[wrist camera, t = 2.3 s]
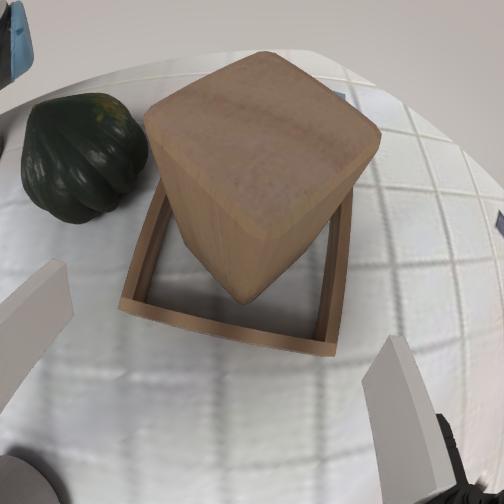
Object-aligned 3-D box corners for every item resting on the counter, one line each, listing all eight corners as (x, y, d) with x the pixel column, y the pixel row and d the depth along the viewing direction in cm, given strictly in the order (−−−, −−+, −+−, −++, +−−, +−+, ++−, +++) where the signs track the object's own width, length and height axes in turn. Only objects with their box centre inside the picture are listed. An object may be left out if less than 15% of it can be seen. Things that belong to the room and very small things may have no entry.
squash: (178, 181, 29) (109, 50, 20) (58, 267, 26) (-22, 146, 17) (152, 164, 40) (104, 75, 32) (67, 224, 37) (13, 138, 28)
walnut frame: (130, 314, 30) (117, 308, 26) (183, 153, 36) (179, 133, 33) (322, 356, 30) (334, 356, 26) (342, 187, 36) (353, 170, 33)
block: (247, 188, 35) (267, 42, 16) (309, 248, 34) (393, 131, 15) (180, 241, 33) (132, 109, 14) (243, 310, 31) (267, 242, 12)
